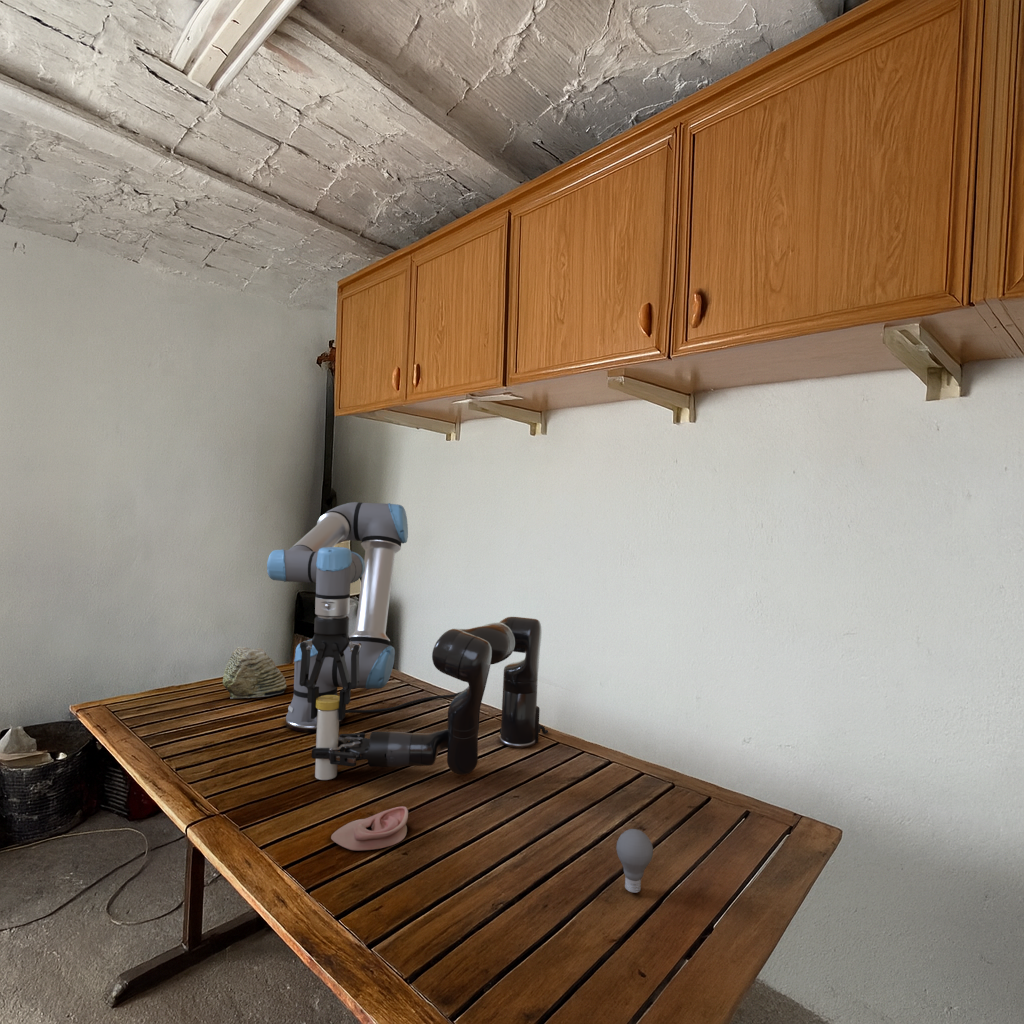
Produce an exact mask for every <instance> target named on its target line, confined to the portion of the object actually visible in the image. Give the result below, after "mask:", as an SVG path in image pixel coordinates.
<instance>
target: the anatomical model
mask: <svg viewBox="0 0 1024 1024" xmlns="http://www.w3.org/2000/svg"><path fill="white" fill-rule="evenodd" d="M408 819H409V809H408V808H407V807H406V806H405V805H404V806H402V805H401V806H396V807H393V808H389V809H386V810H382V811H381V812H378V813H376V814H373V815H371V816H369V817H365V818H360V819H356V820H352V821H350V822H348V823H345V824H344V825H343V826H341V827H339V828H337V830H335V831H334V832H333V833H332V834H331V836H330V839H331V841H333V843H336V845H338V846H339V847H342V848H344V849H347V850H350V851H357V852H359V851H371V850H379V849H383V848H388V847H392V846H394V845H396V844H399V843H400V842H402V841H403V840H404V839H405V838H406V836H407V832H408V827H407V822H408Z"/></svg>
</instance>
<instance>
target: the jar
mask: <svg viewBox="0 0 1024 1024" xmlns="http://www.w3.org/2000/svg"><path fill="white" fill-rule="evenodd" d="M315 735H316V736H315V748H329V749H330V748H335V747H338V739H339V735H340V725H339V708H338V709H335V710H319V709H317V732H316V733H315ZM314 760H315V763H314V777H315V779H316V780H320V781H328V780H332V779H335V778H336V777H337V776H338V765H335V764H330V760H329V759H314Z"/></svg>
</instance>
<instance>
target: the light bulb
mask: <svg viewBox="0 0 1024 1024" xmlns="http://www.w3.org/2000/svg"><path fill="white" fill-rule="evenodd" d="M615 849H616V854H617V857H618V859H619V861H620V863H621V865H622V867H623V873H624V874H623V875H624V876H625V878H624V888H625V890H627V891H628V892H630V893H634V894H635V893H639V892H640V891H641V889H642V887H641V886H642V879H643V877H644V875H645V871H646V868H647V867H648V866H649V864H650V863H651V861H652V859H653V855H654V847H653V843H652V841H651V838H649V836H648V835H647V834H646V833H645V832H643V831H642V830H641V829H636V828H629V829H627V830H625V831H623V832H622V833H621V834H620V835H619V837H618V839H617V841H616V847H615Z"/></svg>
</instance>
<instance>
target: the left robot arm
mask: <svg viewBox="0 0 1024 1024" xmlns="http://www.w3.org/2000/svg"><path fill="white" fill-rule="evenodd" d="M408 525H409V524H408V517H407V511H406V509H405V507H404V506H403V505H401V504H396V503H390V502H388V503H384V502H383V503H382V502H359V501H358V502H357V501H352V502H347V503H343V504H340V505H338V506H337V505H336V506H335V507H333V508H331V509H329V510H327V511H326V512H324V513H323V514H322V515H321V516H320V517H319V518H318V520H317V522H316V525H315V526H313V528H311V530H309V531H308V532H307V533H306V534H305V535H303V537H301V538H300V539H299V540H298V541H297V542H296V543H294V545H292V546H291V547H290V548H289V549H283V548H282V549H273V550H272V551H271V552H270V553H269V555H268V558H267V563H266V571H267V572H266V573H267V575H268V577H269V578H270V579H271V580H273V581H279V582H284V583H286V582H287V583H288V582H289V583H291V582H292V583H315V601H314V608H315V609H314V614H315V615H316V616H315V617H314V627H313V630H314V631H313V637H312V638H311V639H306V640H303V641H302V642H300V643H298V644H297V645H296V648H295V655H294V659H293V662H294V672H293V695H292V696H293V697H292V699H291V702H290V704H289V705H288V708H287V710H288V711H287V713H286V715H285V726H286V728H287V729H289V730H291V731H294V732H295V731H296V732H301V733H317V708H316V699H317V698H318V697H320V696H324V695H337V696H340V698H339V726H340V725H342V723H343V722H344V719H345V718H346V714H370V713H381V712H382V713H383V712H389V711H394V710H398V709H401V708H403V707H407V706H408V705H413V704H416V703H420V702H424V701H428V700H436V699H446V698H455V697H456V696H457V695H458V694H460V693H461V692H462V691H459V692H456V693H452V694H443V695H431V696H426V697H421V698H418V699H414V700H411V701H407V702H404V703H402V704H398V705H396V706H395V705H394V706H389V707H387V708H386V707H385V708H384V707H383V708H375V709H346V708H347V706H348V705H349V704H350V702H351V693H352V690H353V689H366V690H370V689H373V690H374V689H379V690H380V689H382V688H384V687H385V686H386V685H387V684H388V682H389V680H390V678H391V675H392V672H393V668H394V663H395V654H396V650H395V647H394V646H392V645H391V640H390V638H389V637H388V635H387V634H386V632H387V625H388V615H389V607H390V598H391V592H392V591H391V589H392V581H393V572H394V563H395V556H396V554H397V553H398V552H400V551H401V550H402V549H401V548H402V544H403V545H404V544H406V543H407V542H408V538H409V527H408ZM344 541H353V542H355V541H357V542H361V543H360V546H361V547H362V549H363V550H364V551H365V552H364V558H363V557H362V555H360V554H359V553H358V552H355V551H352V550H351V549H350V548H348V547H342V546H336V545H339V544H341V543H344ZM360 579H361V583H360V590H359V597H358V605H357V612H356V618H355V625H354V626H355V627H354V632H352V633H351V634H349V632H350V631H349V630H350V617H349V616H348V615H349V614H350V611H351V610H350V605H351V584H353V583H356V582H358V581H359V580H360ZM338 688H342V689H340V690H339V695H338Z"/></svg>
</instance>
